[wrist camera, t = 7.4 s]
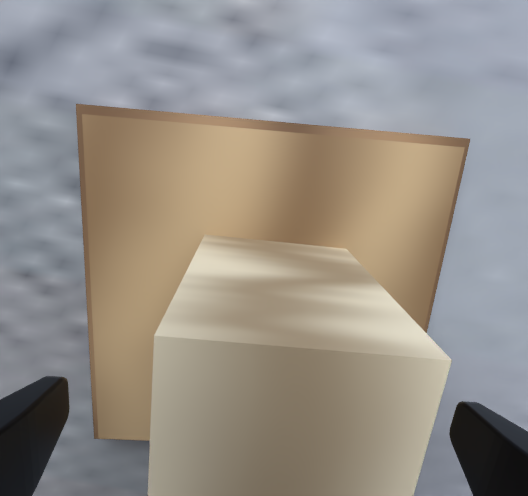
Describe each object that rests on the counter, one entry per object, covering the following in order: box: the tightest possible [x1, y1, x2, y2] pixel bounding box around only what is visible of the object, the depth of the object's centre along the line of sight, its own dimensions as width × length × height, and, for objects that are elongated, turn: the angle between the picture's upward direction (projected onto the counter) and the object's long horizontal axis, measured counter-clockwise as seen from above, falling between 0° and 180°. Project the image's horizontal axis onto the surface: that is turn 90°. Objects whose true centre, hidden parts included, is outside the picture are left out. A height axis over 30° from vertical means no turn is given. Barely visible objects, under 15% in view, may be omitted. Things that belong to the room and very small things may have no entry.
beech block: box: [148, 234, 452, 496], centre depth 10 cm, size 5×5×7 cm
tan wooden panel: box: [76, 104, 470, 441], centre depth 14 cm, size 13×13×2 cm
